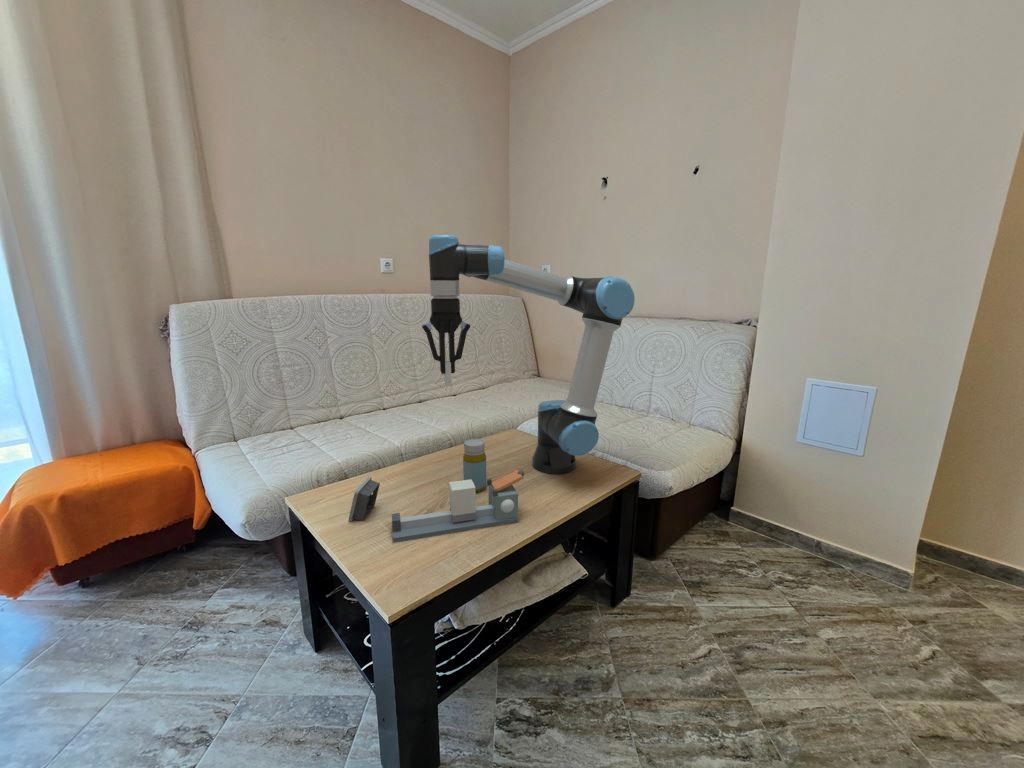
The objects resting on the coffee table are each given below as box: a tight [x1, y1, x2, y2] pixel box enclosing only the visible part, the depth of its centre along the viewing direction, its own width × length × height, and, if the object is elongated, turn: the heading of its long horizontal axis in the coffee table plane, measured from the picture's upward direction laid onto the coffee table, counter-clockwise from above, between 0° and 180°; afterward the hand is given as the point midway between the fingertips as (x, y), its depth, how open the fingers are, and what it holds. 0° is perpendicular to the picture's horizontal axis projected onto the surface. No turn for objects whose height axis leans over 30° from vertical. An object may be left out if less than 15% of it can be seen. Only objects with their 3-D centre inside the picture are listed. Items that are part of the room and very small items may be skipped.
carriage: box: [448, 479, 477, 523], centre depth 109 cm, size 6×5×9 cm
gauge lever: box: [491, 469, 525, 491], centre depth 112 cm, size 2×4×9 cm
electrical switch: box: [348, 476, 381, 522], centre depth 114 cm, size 9×5×9 cm, turn 176°
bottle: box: [462, 438, 487, 493], centre depth 128 cm, size 7×7×15 cm
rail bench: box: [391, 477, 519, 544], centre depth 109 cm, size 32×9×10 cm, turn 107°
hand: (448, 384), depth 115 cm, fingers closed
